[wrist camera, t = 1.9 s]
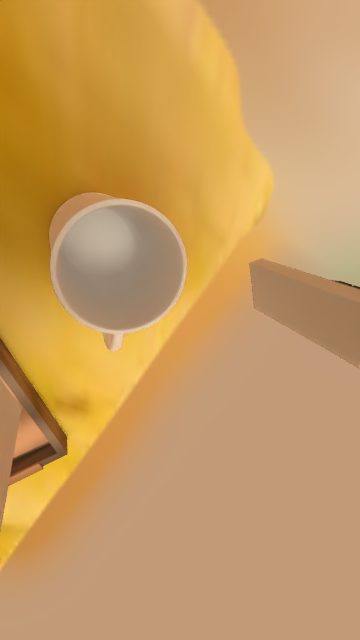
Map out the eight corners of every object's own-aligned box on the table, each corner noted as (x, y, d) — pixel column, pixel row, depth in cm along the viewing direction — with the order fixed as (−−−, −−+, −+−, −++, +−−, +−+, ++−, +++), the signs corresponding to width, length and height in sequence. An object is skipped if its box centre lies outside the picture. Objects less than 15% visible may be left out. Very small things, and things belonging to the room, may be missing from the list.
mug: (132, 316, 31) (169, 377, 21) (47, 312, 27) (41, 385, 17) (148, 203, 27) (204, 211, 17) (50, 181, 23) (46, 175, 13)
